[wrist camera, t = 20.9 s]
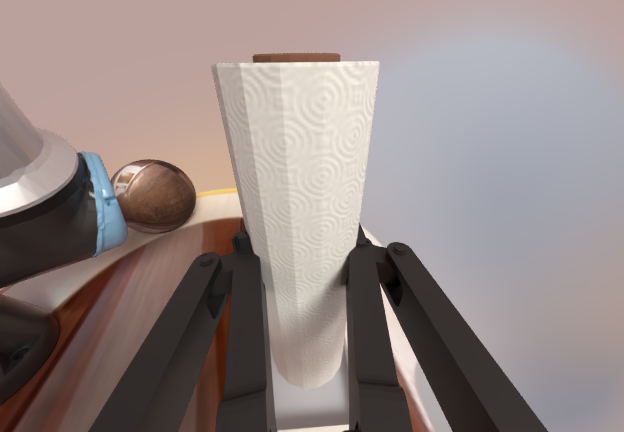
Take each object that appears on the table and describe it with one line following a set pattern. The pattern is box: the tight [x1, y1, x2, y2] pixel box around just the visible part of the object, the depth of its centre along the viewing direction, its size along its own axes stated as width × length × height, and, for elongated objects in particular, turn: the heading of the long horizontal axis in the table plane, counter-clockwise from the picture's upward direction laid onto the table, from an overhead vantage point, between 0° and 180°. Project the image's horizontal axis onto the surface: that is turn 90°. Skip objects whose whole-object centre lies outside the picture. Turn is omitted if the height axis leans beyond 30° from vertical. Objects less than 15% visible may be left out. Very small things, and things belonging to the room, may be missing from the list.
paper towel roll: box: [211, 53, 379, 389], centre depth 14 cm, size 7×6×21 cm
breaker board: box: [270, 322, 349, 432], centre depth 32 cm, size 28×12×4 cm, turn 4°
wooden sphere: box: [110, 160, 196, 233], centre depth 48 cm, size 15×15×15 cm
